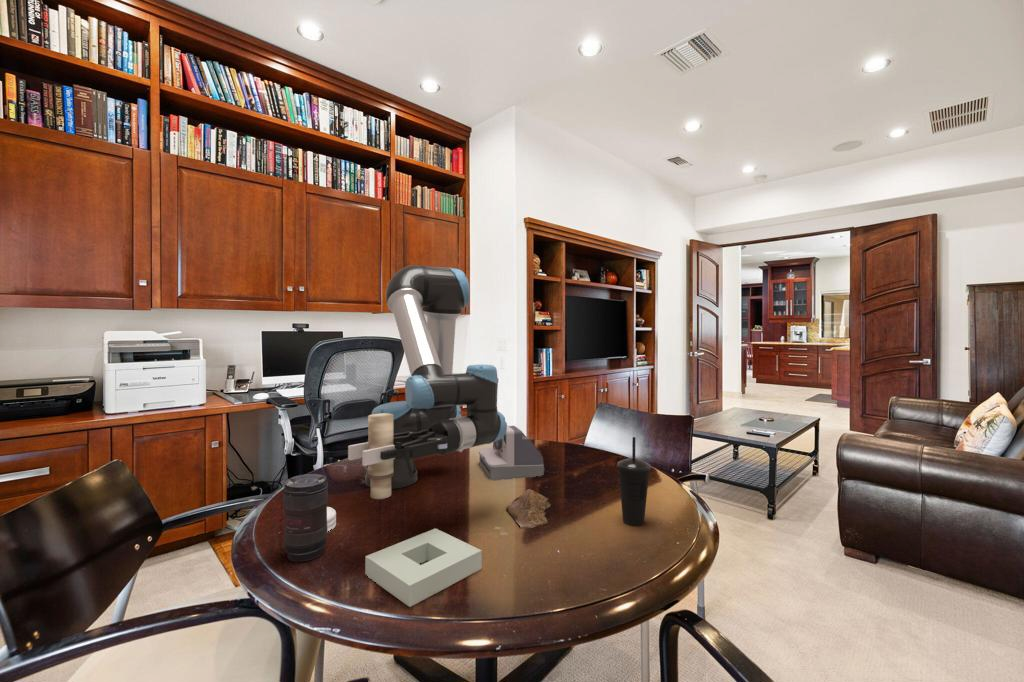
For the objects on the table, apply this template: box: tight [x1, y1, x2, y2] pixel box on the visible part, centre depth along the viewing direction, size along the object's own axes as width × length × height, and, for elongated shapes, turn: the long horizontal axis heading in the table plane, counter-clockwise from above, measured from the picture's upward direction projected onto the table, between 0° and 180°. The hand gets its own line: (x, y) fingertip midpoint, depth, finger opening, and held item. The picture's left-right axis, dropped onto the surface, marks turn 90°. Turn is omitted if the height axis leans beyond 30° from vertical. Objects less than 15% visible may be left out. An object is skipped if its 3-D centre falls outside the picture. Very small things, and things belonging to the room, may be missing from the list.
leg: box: [367, 413, 394, 500], centre depth 88 cm, size 5×5×16 cm
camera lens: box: [282, 473, 329, 562], centre depth 89 cm, size 8×8×15 cm
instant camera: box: [478, 424, 546, 481], centre depth 145 cm, size 21×21×15 cm
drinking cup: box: [616, 436, 652, 527], centre depth 105 cm, size 8×8×20 cm
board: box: [364, 527, 483, 608], centre depth 82 cm, size 14×16×4 cm
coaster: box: [327, 506, 337, 533], centre depth 101 cm, size 10×10×4 cm
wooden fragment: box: [505, 488, 552, 530], centre depth 114 cm, size 26×11×1 cm, turn 172°
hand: (356, 455), depth 85 cm, fingers closed on leg, 5 cm apart
